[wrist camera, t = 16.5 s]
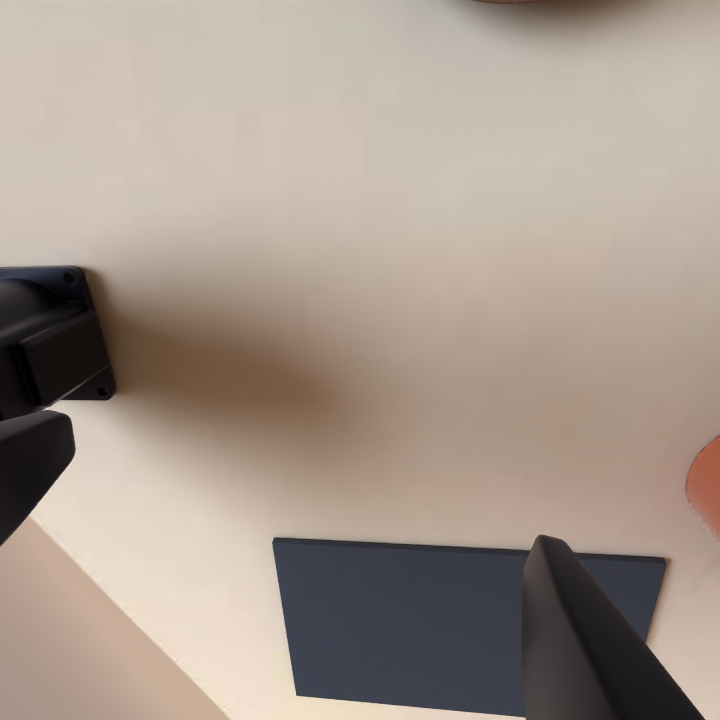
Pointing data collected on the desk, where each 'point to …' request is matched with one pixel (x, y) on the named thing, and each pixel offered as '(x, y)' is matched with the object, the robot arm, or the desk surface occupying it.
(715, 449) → the pen pot
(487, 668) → the felt mat
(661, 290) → the desk surface
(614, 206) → the desk surface
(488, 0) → the cup and saucer
